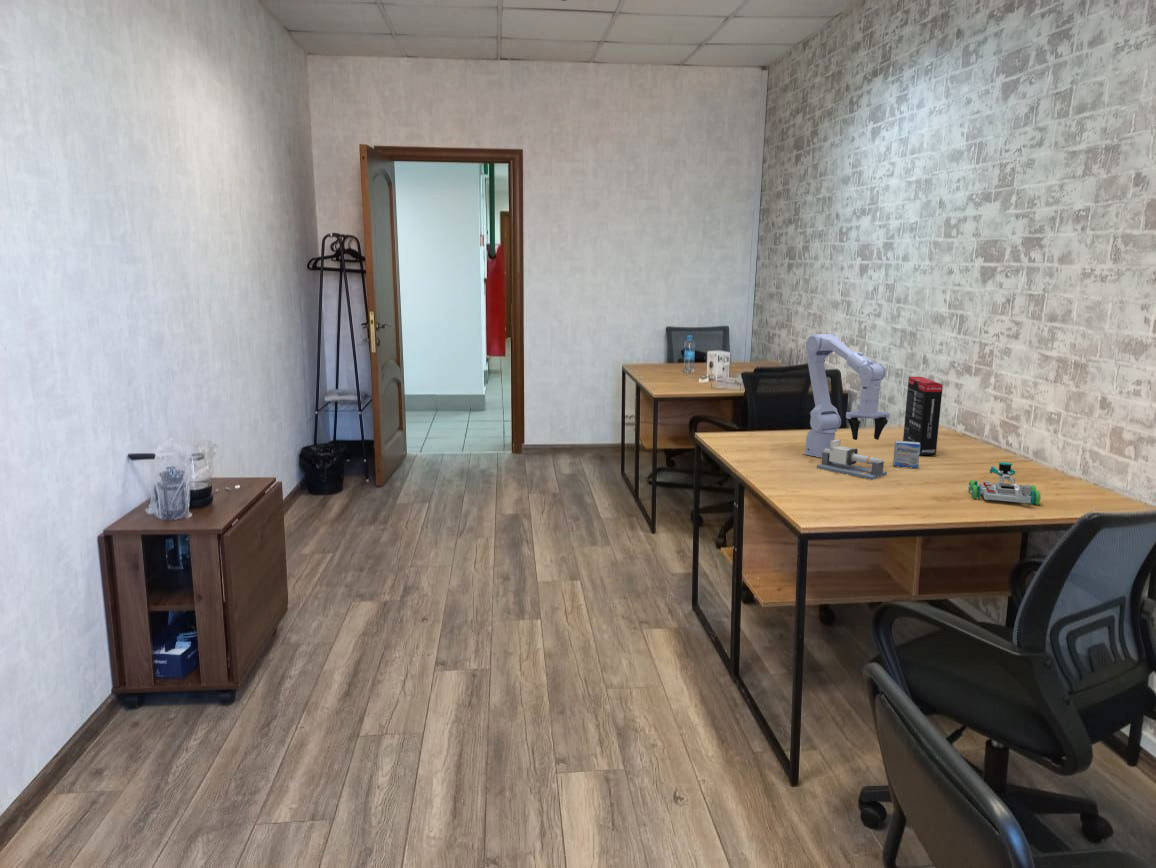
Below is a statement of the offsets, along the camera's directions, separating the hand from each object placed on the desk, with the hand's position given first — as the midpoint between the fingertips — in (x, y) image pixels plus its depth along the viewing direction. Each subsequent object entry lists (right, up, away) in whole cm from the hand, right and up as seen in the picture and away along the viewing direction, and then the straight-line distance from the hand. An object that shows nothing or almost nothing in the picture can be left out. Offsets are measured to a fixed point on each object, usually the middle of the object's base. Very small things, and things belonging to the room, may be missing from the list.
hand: (865, 439), depth 269 cm
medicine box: (+16, -10, +5) cm, 19 cm away
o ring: (-6, -8, -3) cm, 11 cm away
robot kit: (+32, -17, -27) cm, 45 cm away
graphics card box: (+30, -5, +28) cm, 41 cm away
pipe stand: (-6, -11, -3) cm, 13 cm away
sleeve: (-8, -8, 0) cm, 11 cm away
